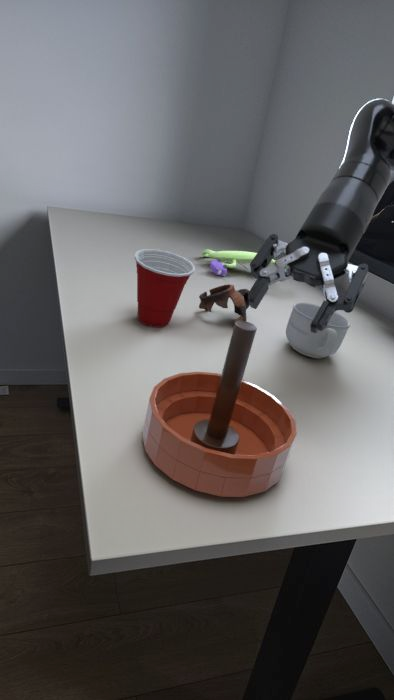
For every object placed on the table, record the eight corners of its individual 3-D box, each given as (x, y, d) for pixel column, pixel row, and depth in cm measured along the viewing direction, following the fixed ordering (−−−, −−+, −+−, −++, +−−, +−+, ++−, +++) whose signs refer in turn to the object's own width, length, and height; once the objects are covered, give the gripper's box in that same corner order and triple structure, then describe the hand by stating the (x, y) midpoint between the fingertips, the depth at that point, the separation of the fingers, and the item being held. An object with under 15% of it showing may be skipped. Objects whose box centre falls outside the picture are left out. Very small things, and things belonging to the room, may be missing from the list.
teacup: (280, 333, 99) (292, 296, 95) (333, 346, 98) (347, 309, 95) (282, 363, 86) (295, 322, 83) (342, 378, 86) (358, 337, 82)
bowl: (232, 403, 71) (242, 367, 68) (310, 484, 58) (326, 443, 55) (120, 419, 62) (127, 378, 59) (184, 518, 49) (196, 471, 46)
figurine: (296, 296, 123) (302, 275, 121) (192, 270, 124) (197, 249, 122) (294, 276, 140) (300, 257, 137) (203, 254, 141) (207, 234, 139)
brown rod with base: (220, 428, 63) (251, 313, 56) (244, 455, 59) (282, 336, 52) (182, 434, 60) (210, 314, 53) (205, 464, 56) (239, 338, 49)
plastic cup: (140, 336, 84) (152, 269, 79) (115, 310, 92) (124, 247, 87) (193, 332, 90) (207, 270, 85) (165, 308, 98) (177, 250, 93)
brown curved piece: (231, 337, 93) (218, 296, 90) (197, 338, 100) (184, 299, 97) (269, 313, 100) (258, 274, 98) (235, 315, 107) (224, 279, 105)
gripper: (288, 187, 66) (228, 282, 61) (393, 216, 60) (336, 323, 56) (291, 224, 72) (237, 312, 68) (387, 253, 67) (334, 352, 62)
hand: (281, 317), depth 62 cm, fingers open, 8 cm apart
